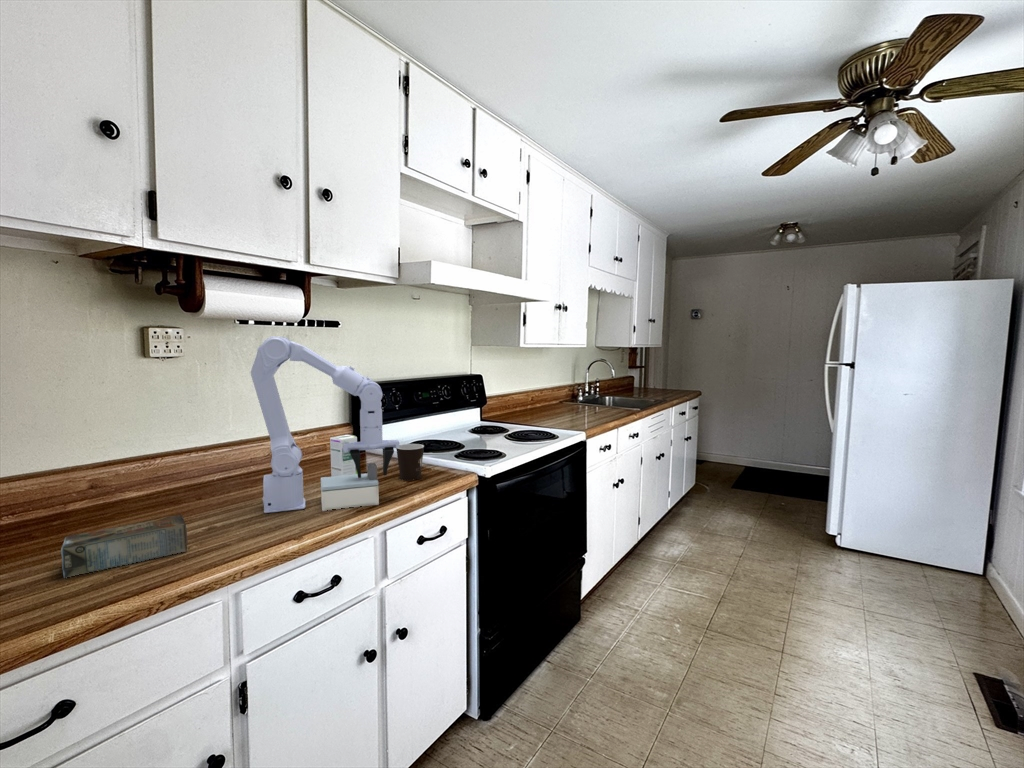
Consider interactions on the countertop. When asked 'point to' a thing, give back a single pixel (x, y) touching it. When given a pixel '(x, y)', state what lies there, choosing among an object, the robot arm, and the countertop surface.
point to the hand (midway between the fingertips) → (372, 475)
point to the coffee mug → (410, 460)
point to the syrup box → (342, 456)
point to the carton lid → (351, 479)
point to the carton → (349, 497)
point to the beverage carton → (123, 545)
